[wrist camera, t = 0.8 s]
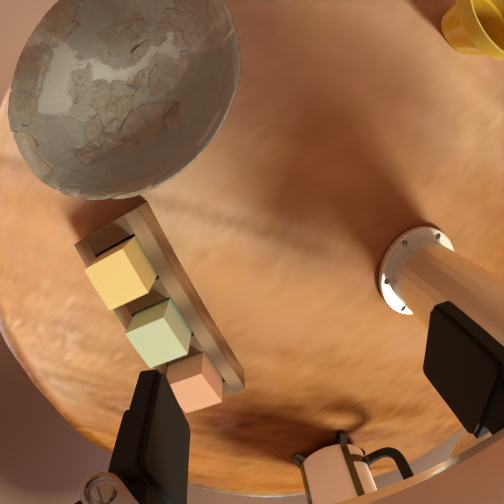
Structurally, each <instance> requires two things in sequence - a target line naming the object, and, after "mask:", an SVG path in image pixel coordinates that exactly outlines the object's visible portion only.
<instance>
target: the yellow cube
mask: <svg viewBox="0 0 504 504" xmlns="http://www.w3.org/2000/svg"><path fill="white" fill-rule="evenodd" d="M84 270H85V272H86V274H87V275H88V277H89V279H90V280H91V282H92V284H93V285H94V287H95V289H96V290H97V292H98V293H99V295H100V297H101V298H102V300H103V301H104V303H105V304H106V306H107V308H108V309H109V311H110V310H113V309H115V308H117V307H119V306H121V305H123V304H125V303H128V302H130V301H132V300H134V299H136V298H138V297H141V296H143V295H145V294H147V293H149V291H150V289H151V287H152V285H153V283H154V281H155V279H156V277H157V273H156V271H155V269H154V268H153V266H152V264H151V262H150V261H149V259H148V257H147V255H146V254H145V252H144V250H143V248H142V246H141V245H140V243H139V241H138V239H137V237H136V235H135V236H133V237H131V238H129V239H127V240H125V241H123V242H122V243H120V244H118V245H116V246H114V247H112V248H111V249H109V250H107V251H105V252H103V253H102V254H100V255H99V256H98V257H97V258H96V259H95V260H94V261H93V262H92V263H91V264H90V265H89V266H87V267H86V268H85V269H84Z"/></svg>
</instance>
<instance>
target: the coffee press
mask: <svg viewBox="0 0 504 504" xmlns="http://www.w3.org/2000/svg"><path fill="white" fill-rule="evenodd" d="M364 455H365V451H364V450H360V449H359V448H358V447H356V446H354V445H351V444H347V433H346V432H338V433H337V440H336V444H335V445H331V446H328V447H325V448H322V449H320V450H318V451H316V452H314V453H313V454H311V455H310V456H309V457H308V458H306V457H304V456H302V455H301V454H295V455H294V457H293V459H292V461H293V462H294V463H295V464H296V465H297V466H298V467H299V468H300V470H301V474H302V478H303V483H304V487H305V492H306V496H307V501H308V504H334V503H338V502H342V501H345V500H348V499H352V498H355V497H358V496H361V495H364V494H367V493H370V492H373V491H376V490H377V488H376V485H375V483H374V480H373V478H372V475H371V473H370V467H369V465H370V464H371V463H373V462H375V461H377V460H379V459H381V458H383V457H390V458H392V459H394V460H395V462H396V464H397V466H398V468H399V470H400V473H401V475H402V477H403V479H404V480H405V479H407V478H410V477H412V476H414V475H413V473H412V471H411V468H410V467H409V465H408V463H407V461H406V459H405V457H404V456H403V455H402V454H401V452H400V451H398V450H397V449H395V448H390V447H387V448H382V449H379V450H377V451H375V452H372V453H370V454H369V455H366V456H364ZM296 458H298V459H300V460H301V461H303V462H304V463H303V465H302V463H301V462H300V461H299V460H297V459H296Z"/></svg>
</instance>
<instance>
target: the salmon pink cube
mask: <svg viewBox="0 0 504 504" xmlns="http://www.w3.org/2000/svg"><path fill="white" fill-rule="evenodd" d="M166 377H167V379H168V381H169V384H170V386H171V388H172V390H173V393H174V395H175V397H176V399H177V401H178V403H179V405H180V407H181V408H182V409H183V410H184V411H185V412H186V413H188V412H192V411H195V410H198V409H202V408H205V407H208V406H211V405H214V404H217V403H220V402H222V375H221V374H220V373H219V371H218V370H217V368H216V367H215V365H214V364H213V362H212V361H211V359H210V358H209V356H208V355H207V353H206V352H205V350H204V351H202V352H199V353H196V354H194V355H191V356H188V357H186V358H183V359H180V360H178V361H175V362H172V363H170V364H169V366H168V371H167V375H166Z"/></svg>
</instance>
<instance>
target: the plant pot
mask: <svg viewBox="0 0 504 504" xmlns="http://www.w3.org/2000/svg"><path fill="white" fill-rule="evenodd" d="M441 30H442V33H443V35H444V37H445V39H446V40H447V42H448V43H449V44H450V45H451V46H452V47H453V48H454V49H455V50H457V51H459V52H461V53H464V54H479V55H487V56H488V57H490V58H493V59H504V0H456V3H455V4H454V5H453V6H452V7H451V8H450V9H449V10H448V11H447V12H446V13H445V14H444V15H443V16H442V18H441Z"/></svg>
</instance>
